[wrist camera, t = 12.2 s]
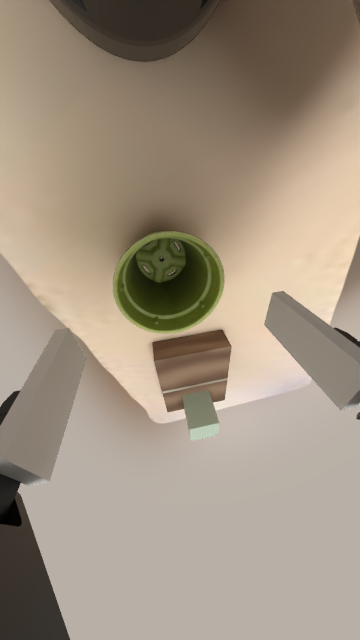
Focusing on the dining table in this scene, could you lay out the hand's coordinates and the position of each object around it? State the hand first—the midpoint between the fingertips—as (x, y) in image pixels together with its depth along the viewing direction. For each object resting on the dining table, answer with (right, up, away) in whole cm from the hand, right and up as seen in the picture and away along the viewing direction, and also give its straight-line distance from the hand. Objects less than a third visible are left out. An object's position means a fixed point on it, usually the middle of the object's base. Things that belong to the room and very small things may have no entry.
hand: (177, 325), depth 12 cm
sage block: (+3, -15, +24) cm, 28 cm away
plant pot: (-2, +8, +10) cm, 13 cm away
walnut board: (+2, -9, +23) cm, 25 cm away
